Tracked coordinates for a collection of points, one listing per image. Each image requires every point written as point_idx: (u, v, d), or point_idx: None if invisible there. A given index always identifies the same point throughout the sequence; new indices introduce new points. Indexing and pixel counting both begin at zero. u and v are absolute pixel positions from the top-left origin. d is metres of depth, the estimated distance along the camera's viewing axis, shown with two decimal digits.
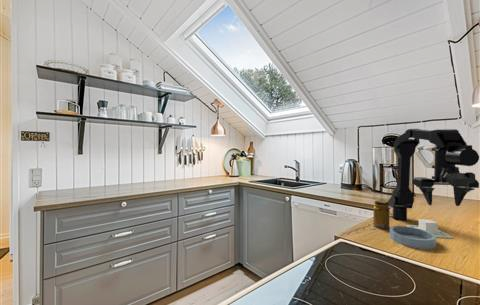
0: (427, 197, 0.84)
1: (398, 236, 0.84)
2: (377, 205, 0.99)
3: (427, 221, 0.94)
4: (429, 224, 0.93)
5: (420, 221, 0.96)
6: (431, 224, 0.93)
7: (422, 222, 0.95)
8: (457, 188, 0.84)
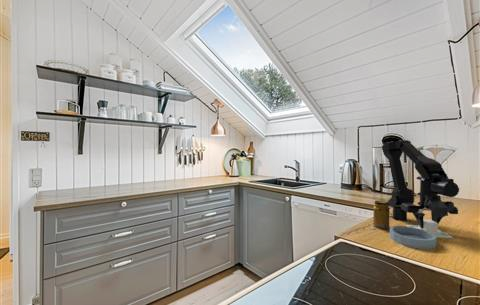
0: (419, 221, 0.95)
1: (398, 236, 0.84)
2: (377, 205, 0.99)
3: (427, 221, 0.94)
4: (429, 224, 0.93)
5: None
6: (431, 224, 0.93)
7: None
8: (434, 213, 0.95)
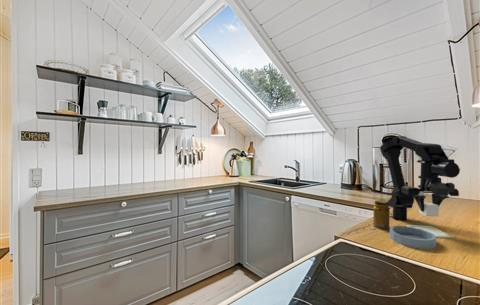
0: (419, 204, 0.95)
1: (398, 236, 0.84)
2: (377, 205, 0.99)
3: (428, 204, 0.94)
4: (430, 206, 0.92)
5: None
6: (432, 206, 0.92)
7: None
8: (435, 196, 0.95)
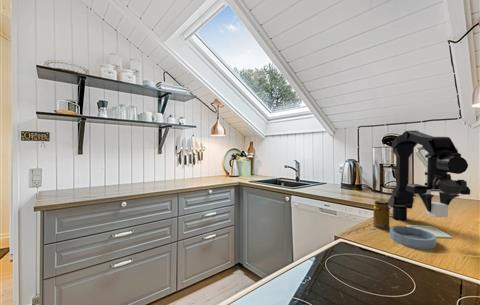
0: (426, 204, 0.85)
1: (398, 236, 0.84)
2: (377, 205, 0.99)
3: (436, 203, 0.84)
4: (438, 206, 0.83)
5: None
6: (440, 206, 0.83)
7: None
8: (443, 194, 0.85)
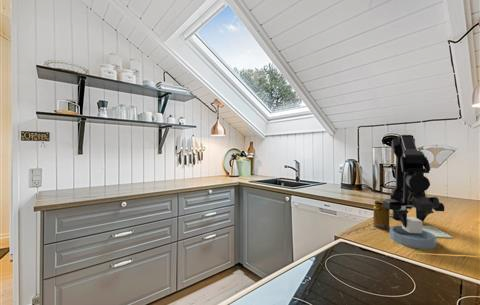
0: (402, 219, 0.87)
1: (398, 236, 0.84)
2: (377, 205, 0.99)
3: (411, 219, 0.86)
4: (413, 222, 0.84)
5: None
6: (415, 222, 0.84)
7: None
8: (419, 210, 0.87)
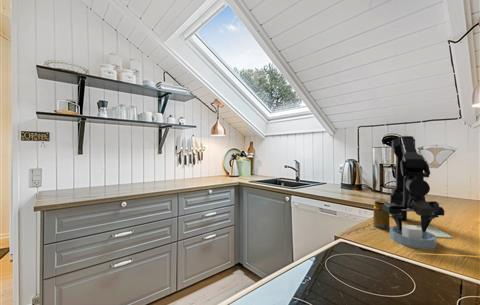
0: (397, 223, 0.87)
1: (398, 236, 0.84)
2: (377, 205, 0.99)
3: (411, 227, 0.86)
4: (413, 231, 0.84)
5: (403, 227, 0.88)
6: (415, 231, 0.84)
7: (405, 228, 0.86)
8: (423, 214, 0.86)
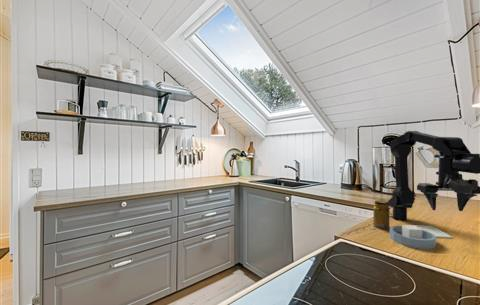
0: (431, 202, 0.87)
1: (398, 236, 0.84)
2: (377, 205, 0.99)
3: (411, 227, 0.86)
4: (413, 231, 0.84)
5: (403, 227, 0.88)
6: (415, 231, 0.84)
7: (405, 228, 0.86)
8: (460, 194, 0.87)
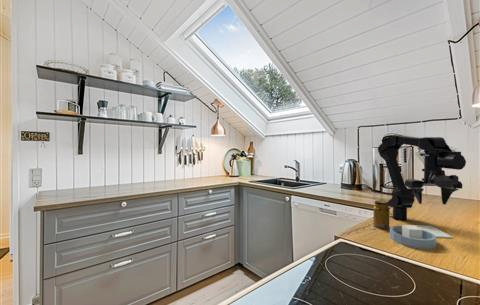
0: (417, 197, 0.96)
1: (398, 236, 0.84)
2: (377, 205, 0.99)
3: (411, 227, 0.86)
4: (413, 231, 0.84)
5: (403, 227, 0.88)
6: (415, 231, 0.84)
7: (405, 228, 0.86)
8: (444, 189, 0.95)
